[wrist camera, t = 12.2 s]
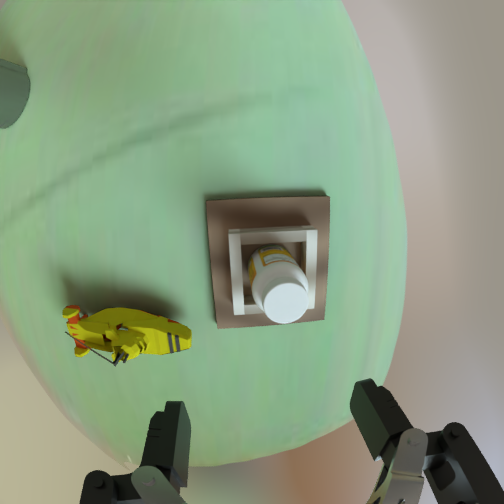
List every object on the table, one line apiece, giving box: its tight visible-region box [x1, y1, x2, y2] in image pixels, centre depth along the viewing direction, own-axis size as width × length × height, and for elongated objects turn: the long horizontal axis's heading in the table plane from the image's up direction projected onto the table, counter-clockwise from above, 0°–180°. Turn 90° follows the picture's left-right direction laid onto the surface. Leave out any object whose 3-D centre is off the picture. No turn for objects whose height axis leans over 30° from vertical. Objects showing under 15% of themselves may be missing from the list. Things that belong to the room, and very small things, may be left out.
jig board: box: [206, 196, 330, 329], centre depth 31 cm, size 16×14×4 cm
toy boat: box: [63, 305, 192, 366], centre depth 29 cm, size 6×18×10 cm, turn 88°
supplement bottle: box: [248, 245, 309, 324], centre depth 27 cm, size 5×5×10 cm
